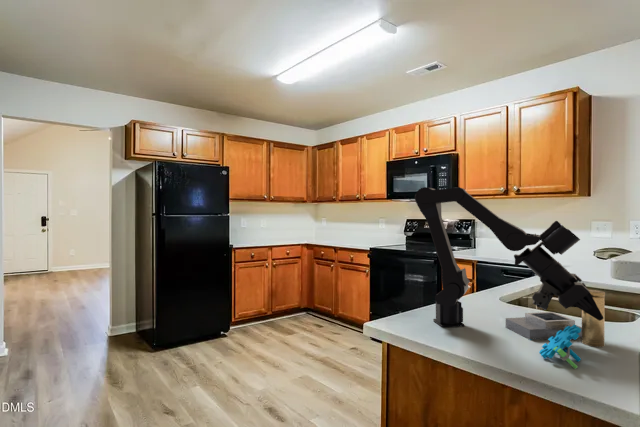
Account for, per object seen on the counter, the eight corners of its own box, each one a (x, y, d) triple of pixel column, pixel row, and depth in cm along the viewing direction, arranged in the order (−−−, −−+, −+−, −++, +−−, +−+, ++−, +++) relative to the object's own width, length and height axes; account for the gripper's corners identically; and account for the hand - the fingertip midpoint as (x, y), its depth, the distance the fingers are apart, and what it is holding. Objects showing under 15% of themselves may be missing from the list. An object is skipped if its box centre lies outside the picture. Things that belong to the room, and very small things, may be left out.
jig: (529, 339, 93) (529, 323, 93) (505, 327, 103) (505, 312, 103) (581, 337, 95) (581, 321, 95) (553, 325, 105) (553, 310, 105)
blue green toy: (538, 340, 88) (575, 316, 83) (560, 361, 86) (598, 337, 82) (534, 362, 79) (575, 336, 74) (558, 386, 77) (601, 361, 72)
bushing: (592, 347, 88) (592, 294, 88) (576, 340, 92) (576, 289, 92) (610, 346, 88) (610, 293, 88) (593, 340, 93) (593, 289, 93)
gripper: (521, 281, 106) (568, 326, 100) (519, 294, 90) (575, 349, 84) (554, 255, 102) (605, 300, 97) (558, 263, 86) (619, 318, 80)
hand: (600, 316), depth 90 cm, fingers closed on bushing, 4 cm apart
